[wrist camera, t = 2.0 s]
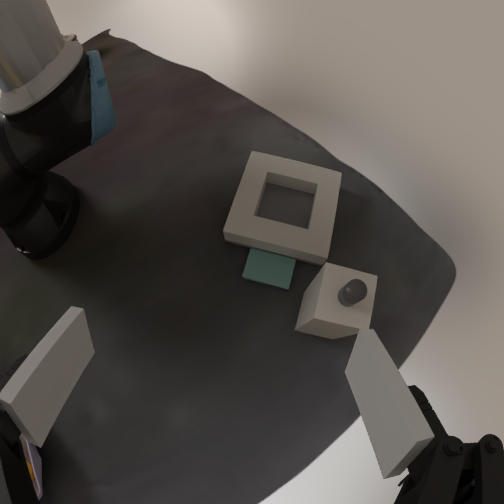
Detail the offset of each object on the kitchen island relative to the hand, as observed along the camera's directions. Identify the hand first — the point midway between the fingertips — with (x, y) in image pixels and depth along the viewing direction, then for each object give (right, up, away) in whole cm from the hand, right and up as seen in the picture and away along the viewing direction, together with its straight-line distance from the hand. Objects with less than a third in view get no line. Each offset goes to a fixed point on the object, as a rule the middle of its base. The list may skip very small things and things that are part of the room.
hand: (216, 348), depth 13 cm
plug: (+10, -4, +22) cm, 25 cm away
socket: (+6, +8, +27) cm, 28 cm away
